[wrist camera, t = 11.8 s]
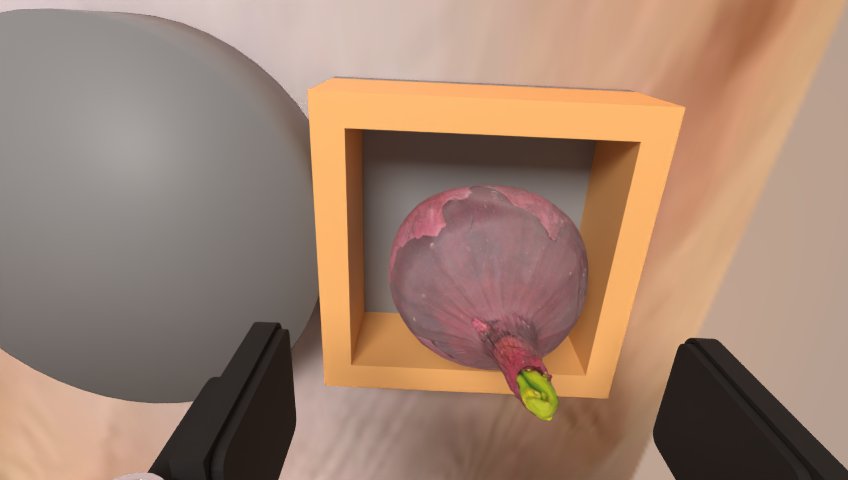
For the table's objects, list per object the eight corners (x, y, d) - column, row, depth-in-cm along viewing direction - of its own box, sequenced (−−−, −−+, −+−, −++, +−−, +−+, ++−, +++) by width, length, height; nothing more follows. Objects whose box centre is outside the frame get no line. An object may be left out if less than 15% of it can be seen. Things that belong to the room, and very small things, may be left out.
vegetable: (556, 283, 19) (678, 510, 10) (410, 305, 20) (404, 543, 11) (547, 139, 17) (700, 272, 8) (381, 167, 17) (339, 326, 8)
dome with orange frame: (570, 365, 22) (598, 433, 18) (43, 340, 22) (-36, 404, 18) (641, 36, 16) (703, 39, 12) (-79, 3, 16) (-233, -5, 12)
